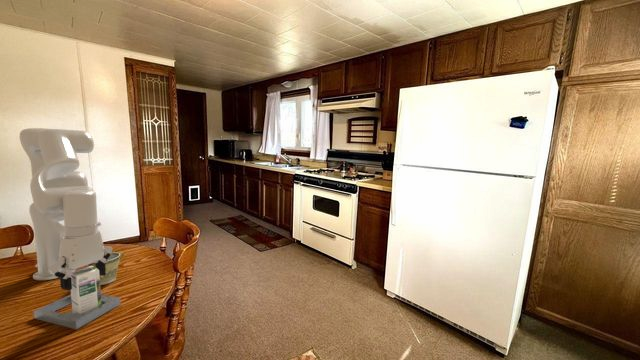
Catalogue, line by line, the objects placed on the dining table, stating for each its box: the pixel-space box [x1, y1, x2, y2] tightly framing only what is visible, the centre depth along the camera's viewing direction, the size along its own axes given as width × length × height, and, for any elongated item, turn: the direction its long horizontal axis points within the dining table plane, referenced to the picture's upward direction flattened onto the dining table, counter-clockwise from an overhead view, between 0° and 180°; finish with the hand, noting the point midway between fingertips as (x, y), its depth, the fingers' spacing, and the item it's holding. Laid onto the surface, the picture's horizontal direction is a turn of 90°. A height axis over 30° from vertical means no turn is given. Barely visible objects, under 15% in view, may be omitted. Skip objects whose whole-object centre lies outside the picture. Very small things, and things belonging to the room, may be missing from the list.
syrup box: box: [69, 265, 102, 315], centre depth 82 cm, size 6×6×14 cm
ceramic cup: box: [88, 251, 125, 286], centre depth 104 cm, size 13×10×10 cm
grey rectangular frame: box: [33, 293, 121, 330], centre depth 84 cm, size 18×13×2 cm
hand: (84, 281), depth 82 cm, fingers open, 9 cm apart
